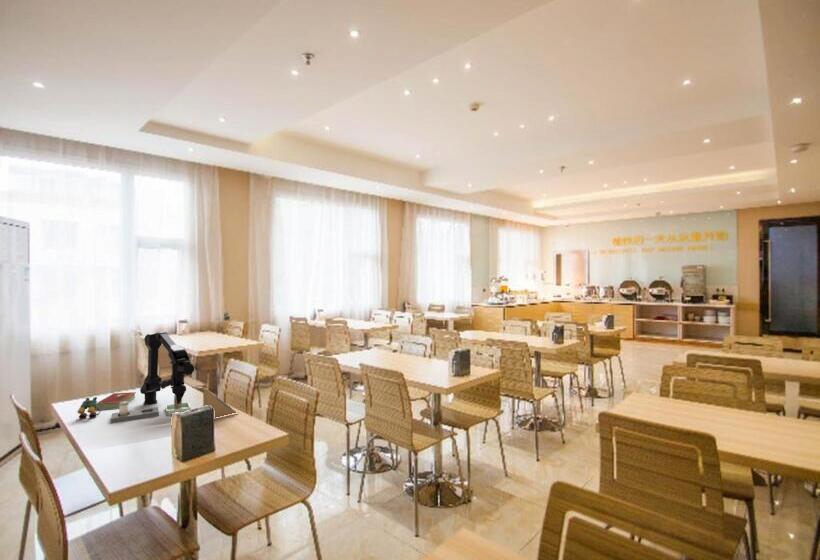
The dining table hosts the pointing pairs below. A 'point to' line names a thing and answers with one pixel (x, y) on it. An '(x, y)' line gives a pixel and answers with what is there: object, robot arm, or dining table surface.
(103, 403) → the hardcover book
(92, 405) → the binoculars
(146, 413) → the fuse block
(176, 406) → the fuse
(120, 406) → the fuse
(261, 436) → the dining table surface
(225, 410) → the sandwich container
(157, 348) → the robot arm
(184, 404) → the parts tray
